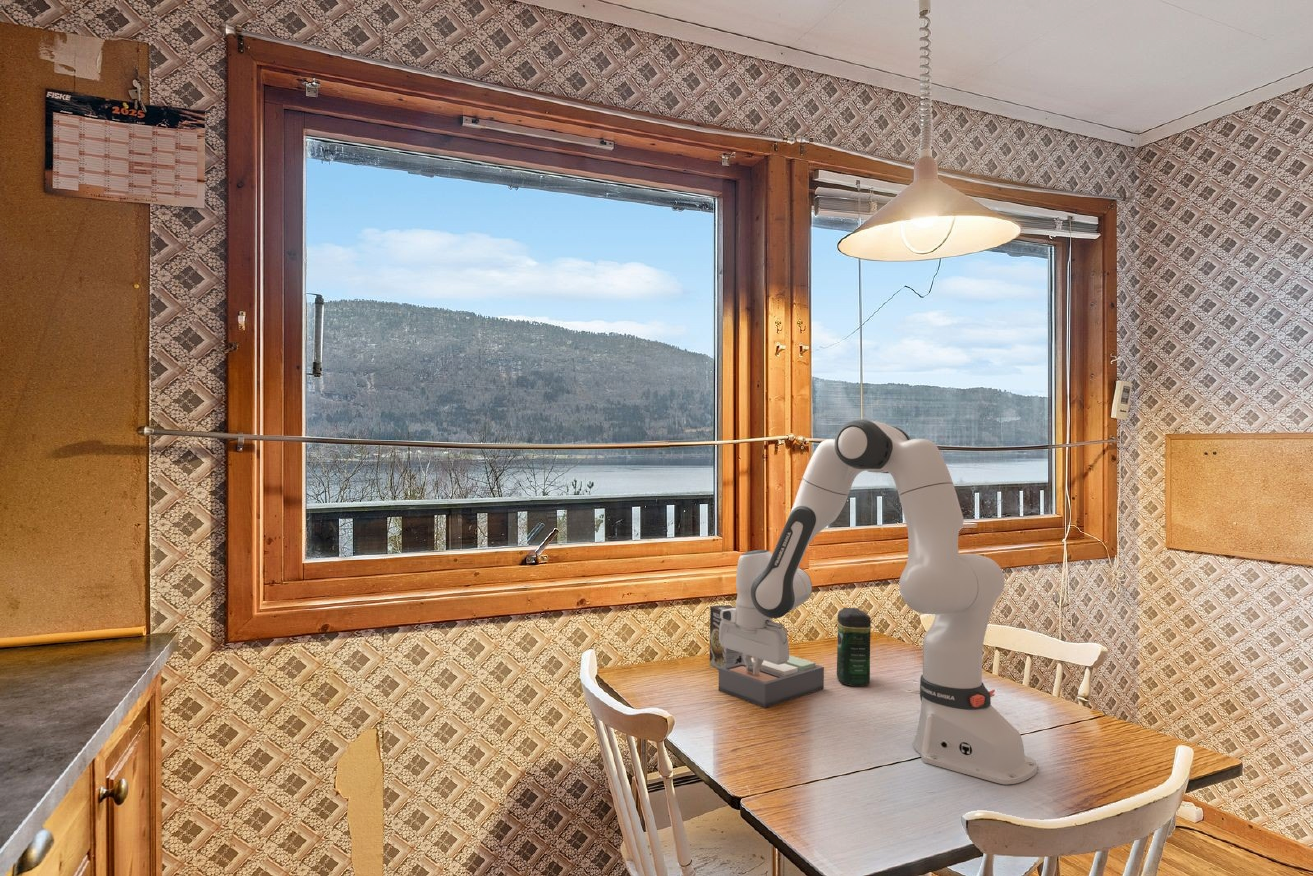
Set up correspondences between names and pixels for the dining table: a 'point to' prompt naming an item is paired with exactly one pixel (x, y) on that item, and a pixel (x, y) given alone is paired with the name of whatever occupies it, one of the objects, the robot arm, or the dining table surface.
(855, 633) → the coffee jar
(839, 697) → the dining table surface
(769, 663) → the cream key
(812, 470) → the robot arm
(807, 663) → the sage key
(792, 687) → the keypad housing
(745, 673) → the orange rectangular block
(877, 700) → the dining table surface
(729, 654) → the coffee box
